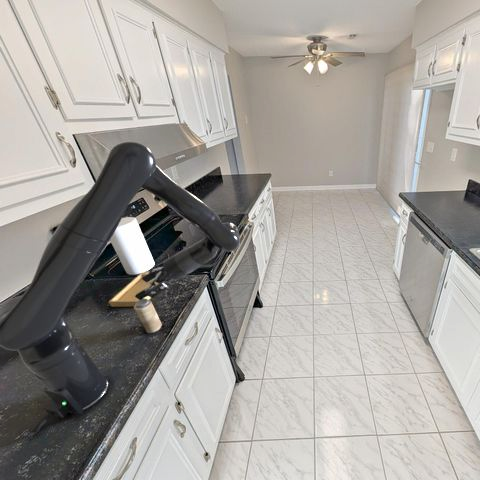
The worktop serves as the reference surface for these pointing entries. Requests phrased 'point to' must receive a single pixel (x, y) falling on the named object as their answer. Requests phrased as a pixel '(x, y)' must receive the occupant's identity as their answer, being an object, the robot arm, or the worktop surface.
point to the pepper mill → (147, 315)
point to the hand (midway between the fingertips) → (141, 288)
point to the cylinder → (131, 247)
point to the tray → (131, 292)
